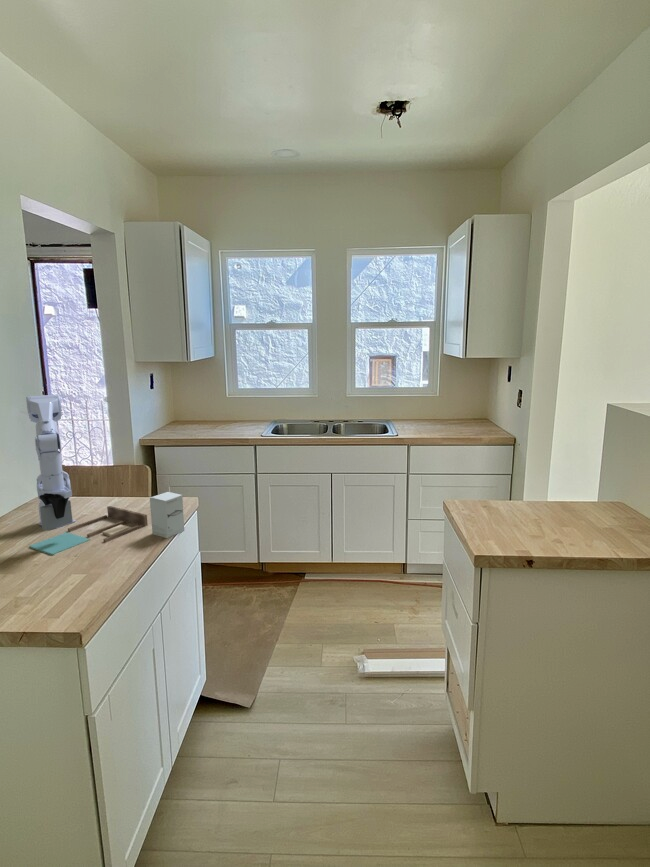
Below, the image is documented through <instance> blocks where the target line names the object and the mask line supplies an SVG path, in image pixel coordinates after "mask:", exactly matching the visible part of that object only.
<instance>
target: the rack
mask: <svg viewBox="0 0 650 867" xmlns="http://www.w3.org/2000/svg"><path fill="white" fill-rule="evenodd" d="M108 518H112V519H116V520H119V521H118V522H115V523H113V524H111V525H108V526H105V527H103V528H100V529H98V530H94V531H91V532H89V533H87V534H86V538H88V539H90V538H93V537H94V536H97V535H99V534H103V533H102V532H103V531H106V530H108V529H111V528H113V527H116V526H118V525H126V524H127V523H131V524H134V525H135V526H132V527H130V529H127V530H125V531H122V532H120V533H117V534H115V535H112V536H107V537H105V538H103V539H102V540H103V543H109V542H111V541H113V540H115V539H118V538H121V537H122V536H125V535H128V534H130V533H132V532H135V531H138V530H140V529H142V528H143V527H147V526H148V524H149V523H148V514H145V513H141V512H136V511H132V510H128V509H125V508H120V507H115V506H111V505H109V506H107V514H106V515H103V516H98V517H96V518H93V519H90V520H87V521H85V522H82V523H80V524H77V525H74V526H72V527H69V528H67V532H68V533H71V532H73V531H76V530H78V529H79V530H80V529H82V528H84V527H87V526H90V525H93V524H96V523H98V522H101V521H104V520H106V519H108Z"/></svg>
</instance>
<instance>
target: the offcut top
mask: <svg viewBox="0 0 650 867" xmlns="http://www.w3.org/2000/svg"><path fill="white" fill-rule="evenodd" d="M130 528H131V527H130V526H127V525H125V524H123V525H118V526H116V527H113V528H111V529H108V530H106V531H103V532H102V533H101V534H102V535H103V536H107V537H110V536H112V535H115V534H117V533H120V532H122V531H125V530H127V529H130Z"/></svg>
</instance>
